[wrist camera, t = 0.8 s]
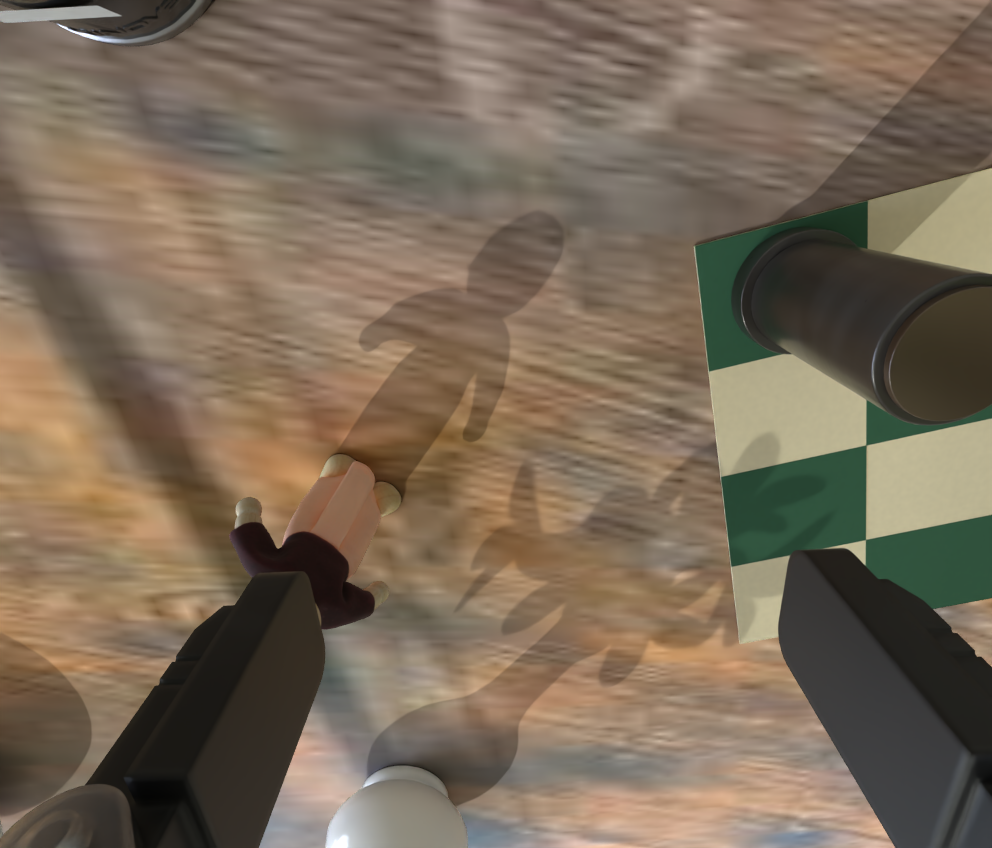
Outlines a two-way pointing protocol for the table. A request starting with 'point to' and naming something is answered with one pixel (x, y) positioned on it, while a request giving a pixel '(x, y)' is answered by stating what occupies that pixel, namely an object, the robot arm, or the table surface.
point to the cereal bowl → (1, 831)
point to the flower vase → (398, 813)
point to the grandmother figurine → (324, 539)
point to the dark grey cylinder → (873, 322)
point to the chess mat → (848, 429)
